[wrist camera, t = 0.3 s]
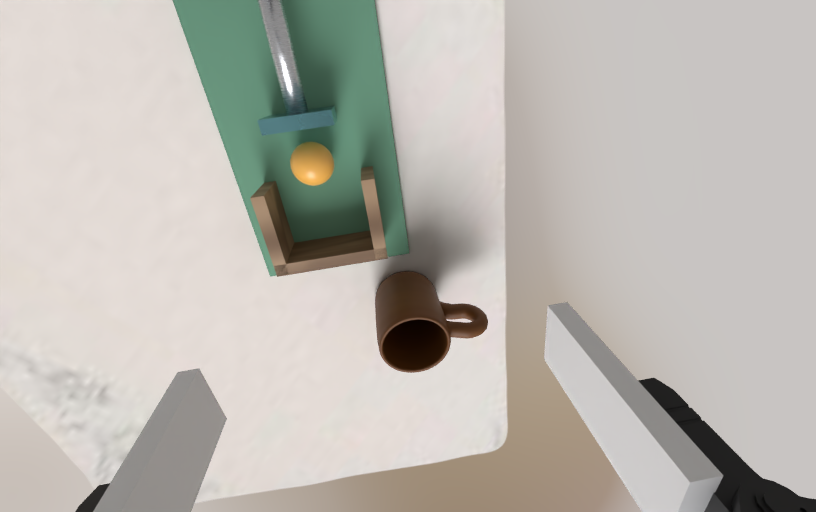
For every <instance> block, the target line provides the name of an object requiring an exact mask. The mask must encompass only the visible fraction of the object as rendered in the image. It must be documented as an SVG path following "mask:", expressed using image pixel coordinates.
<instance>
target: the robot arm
mask: <svg viewBox="0 0 816 512" xmlns="http://www.w3.org/2000/svg"><path fill="white" fill-rule="evenodd" d="M545 341H546V342H545V354H544V360H545V361H546V363H547V364H548V366H549V367H550V369H551V371H552V372H553V374H554V375H555V377H556V378H557V380H558V382H559V383H560V384H561V386H562V388H563V389H564V391H565V392H566V394H567V396H568V397H569V399H570V400H571V402H572V403H573V405H574V407H575V408H576V410H577V411H578V412H579V414H580V416H581V417H582V419H583V421H584V422H585V423H586V425H587V427H588V428H589V430H590V431H591V433H592V434H593V436H594V438H595V439H596V441H597V442H598V444H599V445H600V447H601V449H602V450H603V452H604V453H605V455H606V456H607V458H608V459H609V461H610V463H611V464H612V466H613V467H614V469H615V470H616V472H617V473H618V475H619V477H620V478H621V480H622V481H623V483H624V484H625V486H626V488H627V489H628V491H629V492H630V494H631V495H632V497H633V499H634V500H635V502H636V503H637V505H638V506H639V508H640V509H641V511H642V512H816V499H809V498H804V497H800V496H798V495H797V494H795V493H794V492H793V491H791V490H790V489H788V488H786V487H784V486H782V485H780V484H778V483H776V482H774V481H770V480H766V479H763V478H761V477H760V476H759V475H758V474H757V473H755V472H754V471H753V470H752V469H751V468H750V467H749V466H748V465H747V464H746V463H745V462H744V461H743V460H742V459H741V458H740V457H739V456H738V455H737V454H736V453H735V452H734V451H733V450H732V449H731V448H730V447H729V446H728V445H727V444H726V443H725V442H724V441H723V440H722V439H721V438H720V436H718V435H717V433H715V431H714V430H713V429H712V428H711V427H710V426H709V425H708V424H707V423H706V422H705V421H702V420H701V417H700V416H699V415H698V414H697V413H696V412H695V411H694V410H693V409H692V408H689V407H688V404H687V403H686V402H685V401H684V400H683V399H682V398H681V397H680V396H679V395H678V394H677V393H676V392H675V391H674V390H673V389H671V388H670V387H668V386H666V385H665V384H663V383H662V382H660V381H659V380H657V379H655V378H650V379H645V380H639V381H638V380H637V379H636V378H635V377H634V376H633V375H632V373H631V372H630V371H629V370H628V369H627V368H626V367H625V366H624V365H623V364H622V362H621V361H620V360H619V359H618V358H617V357H616V356H615V355H614V353H613V352H612V351H611V350H610V349H609V348H608V347H607V346H606V345H605V343H604V342H603V341H602V340H601V339H600V338H599V337H598V336H597V335H596V334H595V333H594V331H593V330H592V329H591V328H590V327H589V326H588V325H587V324H586V323H585V321H584V320H583V319H582V318H581V317H580V316H579V315H578V313H577V312H576V311H575V310H574V309H573V308H572V307H571V306H570V305H569V304H568V303H567V302H565V303H560V304H554V305H549V306H548V311H547V326H546V340H545ZM226 419H227V418H226V416H225V415H224V413H223V411H222V409H221V407H220V406H219V404H218V402H217V400H216V398H215V396H214V395H213V393H212V391H211V389H210V387H209V386H208V384H207V382H206V380H205V378H204V377H203V375H202V373H201V371H200V369H193V370H188V371H182V372H178V373H177V374H176V376H175V378H174V379H173V381H172V382H171V384H170V386H169V387H168V389H167V391H166V392H165V394H164V396H163V397H162V399H161V401H160V402H159V404H158V406H157V407H156V409H155V410H154V412H153V414H152V415H151V417H150V419H149V420H148V422H147V424H146V425H145V427H144V429H143V430H142V432H141V434H140V435H139V437H138V439H137V440H136V442H135V443H134V445H133V447H132V448H131V450H130V452H129V453H128V455H127V457H126V458H125V460H124V462H123V463H122V465H121V467H120V468H119V470H118V471H117V473H116V475H115V476H114V478H113V480H112V481H111V483H109V484H104V485H99V486H98V487H97V488H96V489H95V490H94V491H93V492H92V493H91V494H90V495H89V496H88V497H87V498H86V500H84V502H83V503H82V504H81V505H80V506H79V507H78V509H77V510H76V512H191V510H192V508H193V505H194V502H195V500H196V497H197V495H198V492H199V489H200V487H201V484H202V481H203V479H204V476H205V474H206V471H207V468H208V466H209V463H210V461H211V458H212V455H213V453H214V450H215V448H216V445H217V442H218V440H219V437H220V435H221V432H222V429H223V427H224V424H225V422H226Z"/></svg>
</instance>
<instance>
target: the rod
mask: <svg viewBox="0 0 816 512" xmlns="http://www.w3.org/2000/svg"><path fill="white" fill-rule="evenodd" d="M257 2H258V6H259V10H260V13H261V17H262V21H263V25H264V29H265V32H266V36H267V40H268V44H269V48H270V51H271V55H272V59H273V63H274V66H275V70H276V74H277V78H278V82H279V85H280V89H281V93H282V97H283V101H284V104H285V108H286V112H287V113H280V114H273V115H268V116H266V117H264V118H261V119H259V120H257V121H258V125H259V128H260V131H261V135H262V136H263V135H270V134H277V133H284V132H291V131H297V130H304V129H311V128H318V127H325V126H331V125H335V123H336V121H337V114H336V110H335V106H328V107H322V108H315V109H308V107H307V103H306V99H305V95H304V90H303V86H302V82H301V78H300V73H299V69H298V65H297V61H296V57H295V52H294V48H293V44H292V40H291V35H290V31H289V27H288V23H287V19H286V14H285V10H284V6H283V2H282V0H257Z"/></svg>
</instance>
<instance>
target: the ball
mask: <svg viewBox="0 0 816 512" xmlns="http://www.w3.org/2000/svg"><path fill="white" fill-rule="evenodd" d="M290 166H291V170H292V172H293V174H294V176H295V177H296V178H297V179H298V180H299V181H301V182H302V183H304V184H307V185H311V186H316V185H320V184H323V183H325V182H326V181H327V180H328V179H329V178H330V177H331V175H332V173H333V171H334V159H333V156H332V154H331V153H330V151H329V150H328V149H327V148H326V147H325V146H323V145H322V144H320V143H317V142H305V143H302V144H300V145H299V146H297V147H296V148H295V149H294V151H293V153H292V155H291V158H290Z"/></svg>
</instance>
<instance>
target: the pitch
mask: <svg viewBox="0 0 816 512" xmlns="http://www.w3.org/2000/svg"><path fill="white" fill-rule="evenodd" d="M282 2H283V6H284V10H285V14H286V19H287V23H288V27H289V31H290V35H291V40H292V44H293V48H294V52H295V57H296V61H297V65H298V69H299V73H300V78H301V82H302V86H303V90H304V95H305V99H306V103H307V107H308V109H315V108H322V107H328V106H335V110H336V114H337V121H336V123H335V125H331V126H325V127H318V128H311V129H304V130H297V131H291V132H284V133H277V134H270V135H263V136H262V135H261V131H260V128H259V125H258V121H257V120H259V119H261V118H264V117H266V116H268V115H273V114H280V113H287V112H286V108H285V104H284V101H283V97H282V93H281V89H280V85H279V82H278V78H277V74H276V70H275V66H274V63H273V59H272V55H271V51H270V48H269V44H268V40H267V36H266V32H265V29H264V25H263V21H262V17H261V13H260V10H259V6H258V2H257V0H173V3H174V5H175V8H176V11H177V14H178V17H179V20H180V22H181V25H182V28H183V31H184V34H185V36H186V39H187V42H188V45H189V48H190V51H191V53H192V56H193V59H194V62H195V65H196V68H197V70H198V73H199V76H200V79H201V82H202V85H203V87H204V90H205V93H206V96H207V99H208V102H209V104H210V107H211V110H212V113H213V116H214V119H215V121H216V124H217V127H218V130H219V133H220V135H221V138H222V141H223V144H224V147H225V150H226V152H227V155H228V158H229V161H230V164H231V167H232V169H233V172H234V175H235V178H236V181H237V184H238V186H239V189H240V192H241V195H242V198H243V201H244V203H245V206H246V209H247V212H248V215H249V218H250V220H251V223H252V226H253V229H254V232H255V234H256V237H257V240H258V243H259V246H260V249H261V251H262V254H263V257H264V260H265V263H266V266H267V268H268V271H269V274H270V276H276V272H275V269H274V266H273V263H272V260H271V257H270V255H269V252H268V249H267V246H266V243H265V240H264V237H263V234H262V231H261V228H260V225H259V223H258V220H257V217H256V214H255V211H254V208H253V205H252V202H251V199H250V198H251V196H252V195H253V194H254V193H255V192H256V191H257V190H258V189H259V188H260V186H261V185H262V184H263V183H266V182H273V181H276V183H277V187H278V190H279V193H280V197H281V200H282V203H283V207H284V210H285V213H286V216H287V220H288V223H289V226H290V230H291V233H292V236H293V240H294V243H295V242H302V241H308V240H314V239H320V238H326V237H332V236H339V235H345V234H351V233H357V232H363V231H369V230H370V226H369V221H368V216H367V211H366V205H365V200H364V195H363V189H362V184H361V168H364V167H370V166H373V172H374V178H375V184H376V189H377V195H378V201H379V207H380V213H381V219H382V225H383V231H384V236H385V243H386V250H387V256H388V257H390V256H396V255H402V254H408V253H409V247H408V240H407V233H406V225H405V218H404V211H403V204H402V196H401V189H400V182H399V175H398V167H397V160H396V153H395V146H394V138H393V131H392V124H391V117H390V110H389V102H388V95H387V88H386V81H385V73H384V66H383V59H382V52H381V44H380V37H379V30H378V23H377V15H376V8H375V1H374V0H282ZM305 142H317V143H320V144H322V145H323V146H325V147H326V148H327V149H328V150H329V151H330V153H331V154H332V156H333V159H334V171H333V173H332V175H331V177H330V178H329V179H328V180H327V181H326V182H325V183H323V184H320V185H316V186H311V185H307V184H304V183H302V182H301V181H299V180H298V179H297V178H296V177H295V176H294V174H293V172H292V170H291V166H290V158H291V155H292V153H293V151H294V149H295V148H296V147H297V146H299V145H300V144H302V143H305Z"/></svg>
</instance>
